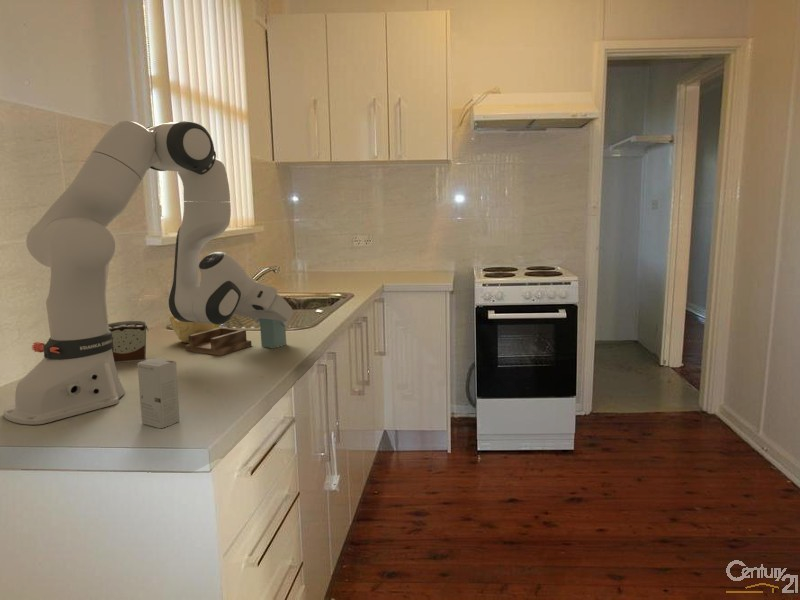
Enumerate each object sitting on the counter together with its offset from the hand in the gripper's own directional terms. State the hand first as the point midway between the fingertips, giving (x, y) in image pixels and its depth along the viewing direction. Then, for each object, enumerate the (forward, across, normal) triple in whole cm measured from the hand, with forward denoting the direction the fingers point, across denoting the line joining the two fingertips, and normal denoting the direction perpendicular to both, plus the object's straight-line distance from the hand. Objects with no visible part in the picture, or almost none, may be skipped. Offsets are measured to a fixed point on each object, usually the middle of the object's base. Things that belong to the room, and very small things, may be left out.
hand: (274, 323), depth 167 cm
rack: (-2, -13, -11) cm, 17 cm away
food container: (-16, -27, -25) cm, 40 cm away
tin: (+4, 0, -5) cm, 7 cm away
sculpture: (0, -27, -9) cm, 28 cm away
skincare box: (-35, +22, -44) cm, 60 cm away
